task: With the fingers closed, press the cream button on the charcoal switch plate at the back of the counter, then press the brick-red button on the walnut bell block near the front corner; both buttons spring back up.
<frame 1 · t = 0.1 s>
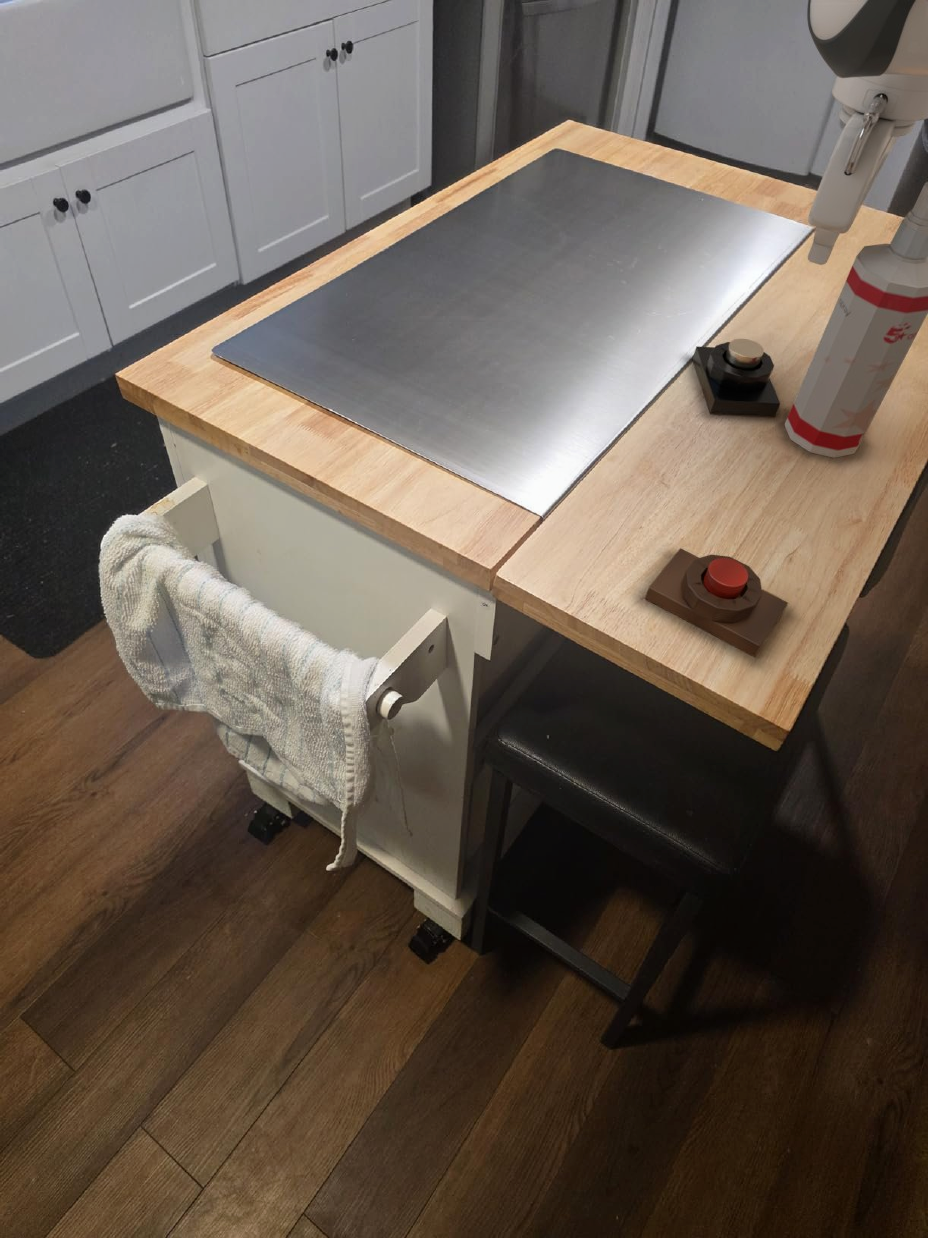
hand: (828, 240, 84), 16 cm above the kitchen island, tool pointing down, fingers open, 8 cm apart
switch button: (743, 355, 91), point 4 cm above the kitchen island, slide at 0.1 cm
bell block: (713, 605, 73), on the kitchen island
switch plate: (732, 387, 94), on the kitchen island
bell button: (725, 578, 71), point 3 cm above the kitchen island, slide at 0.1 cm
spray bottle: (821, 434, 90), on the kitchen island
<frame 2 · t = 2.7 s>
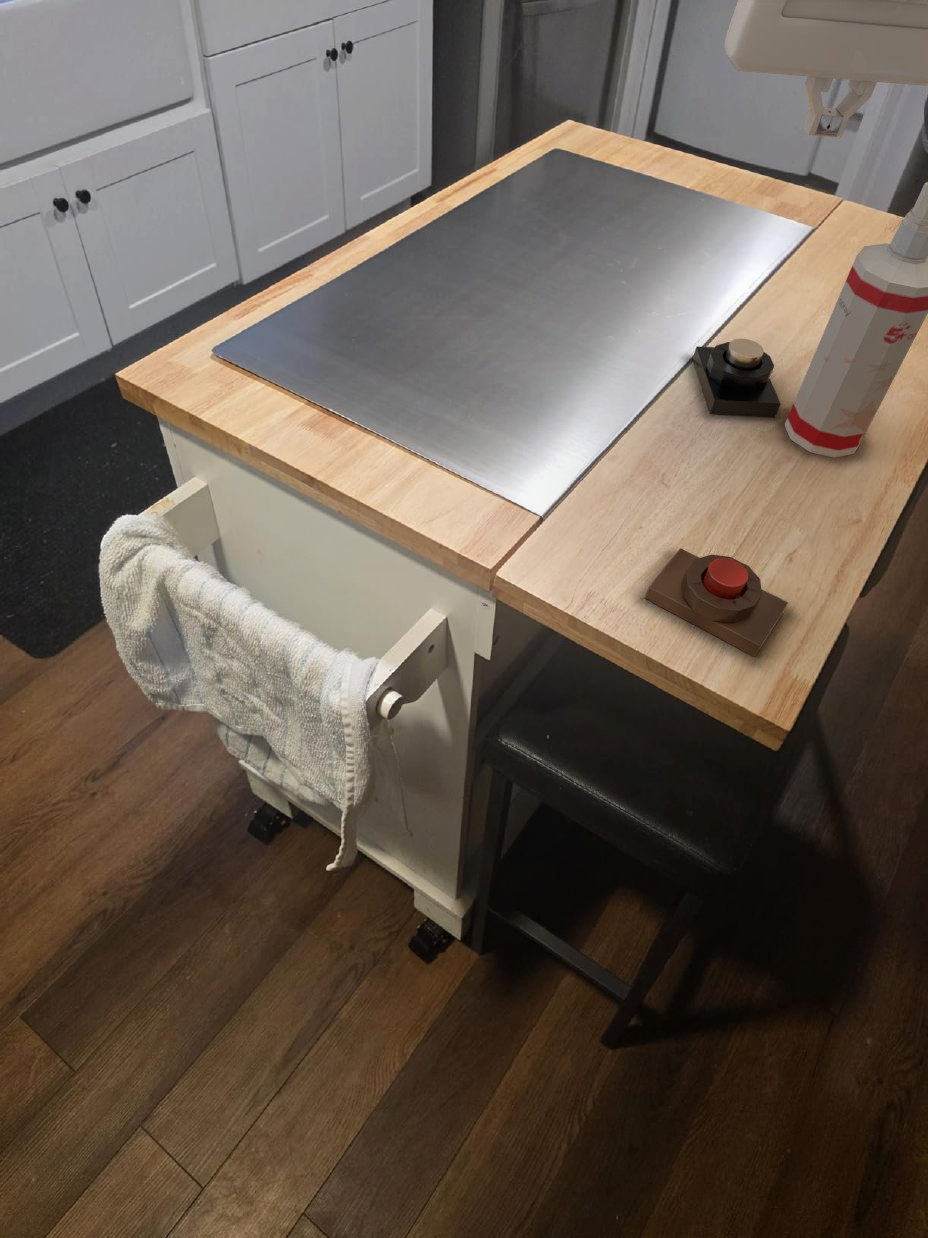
hand: (821, 134, 75), 26 cm above the kitchen island, tool pointing down, fingers closed
nothing on the kitchen island moved.
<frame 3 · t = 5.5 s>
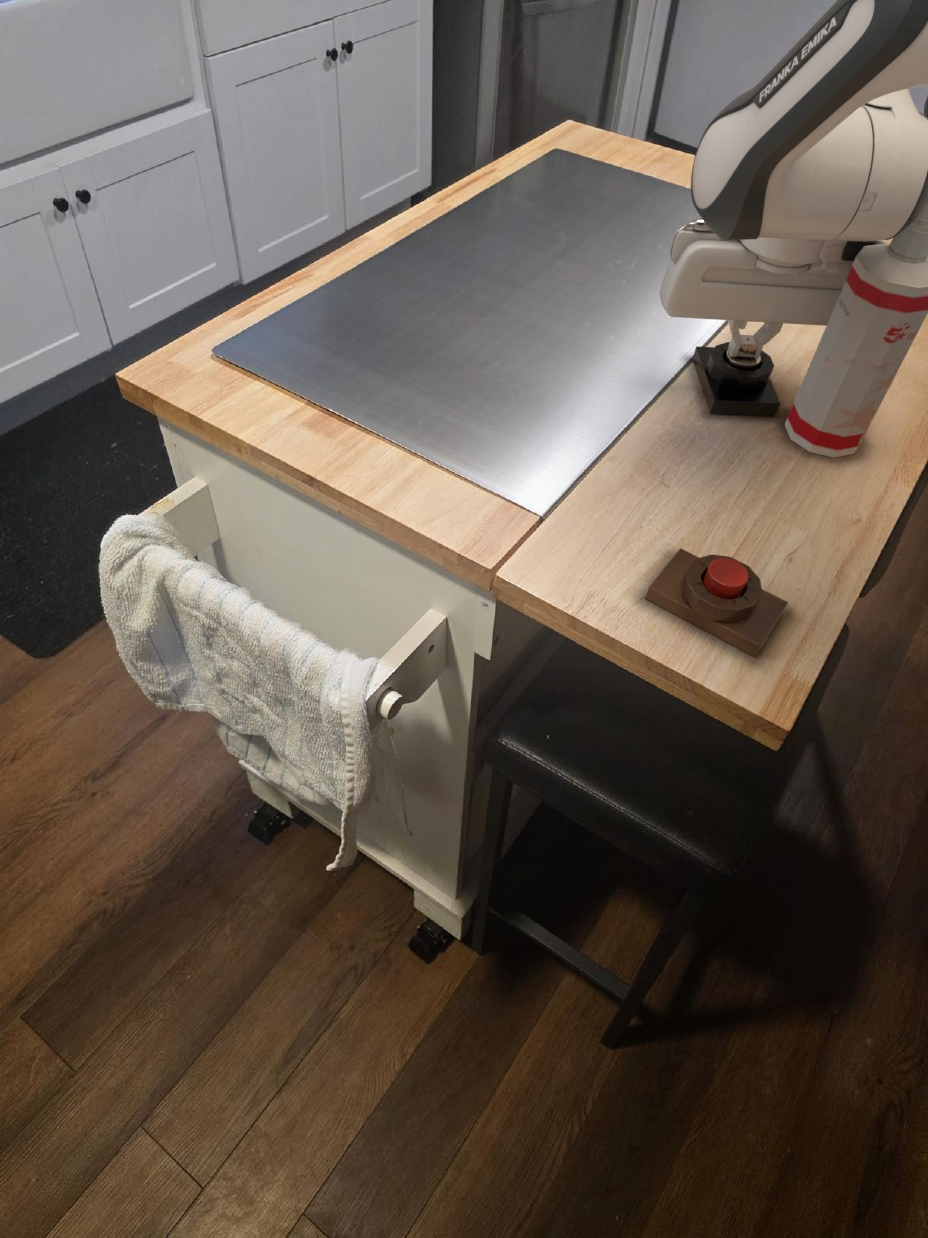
hand: (742, 354, 91), 4 cm above the kitchen island, tool pointing down, fingers closed, pressing on switch button
switch button: (741, 362, 92), point 3 cm above the kitchen island, slide at -0.8 cm, touching gripper
everything else where it was.
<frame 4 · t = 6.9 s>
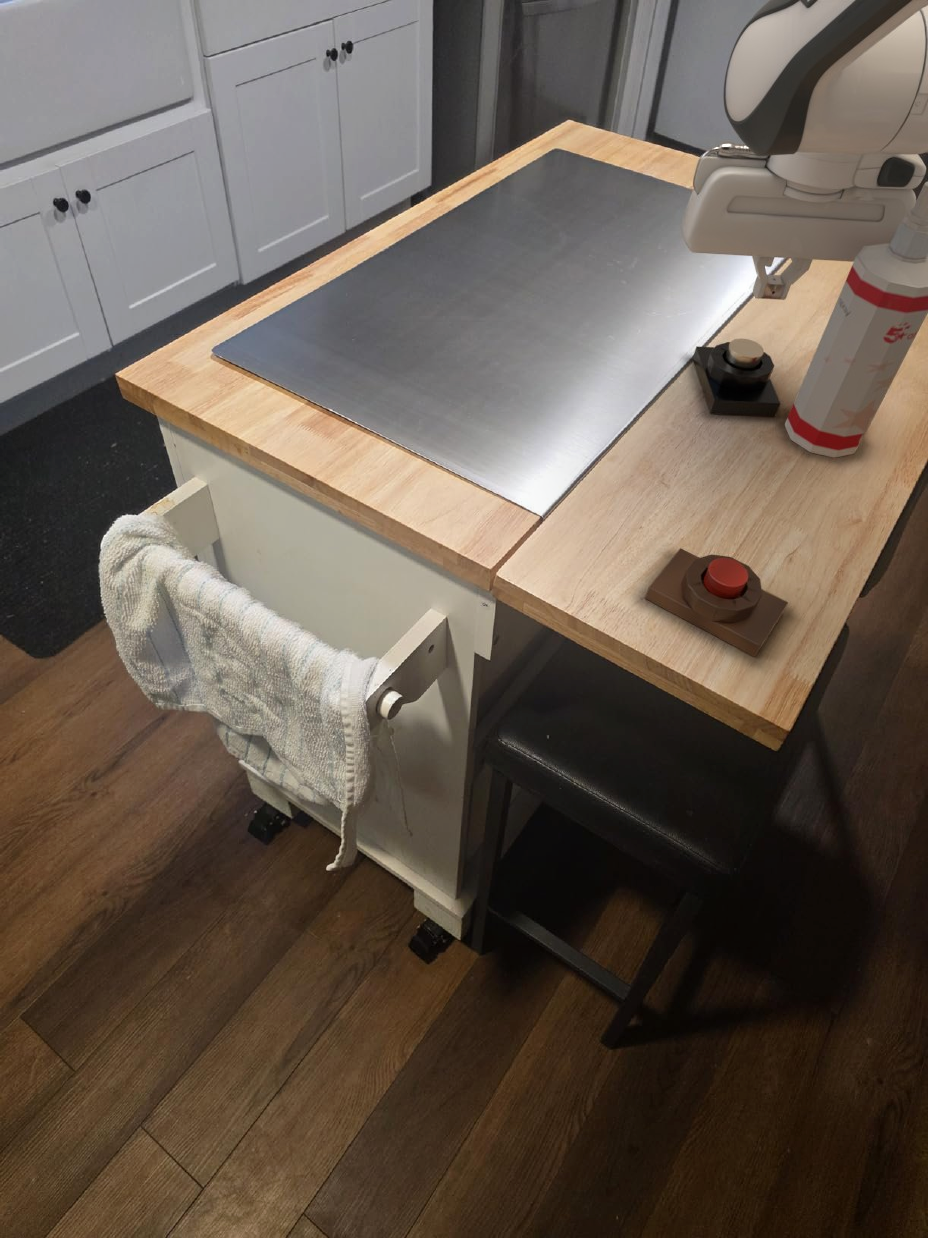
hand: (768, 296, 86), 11 cm above the kitchen island, tool pointing down, fingers closed
switch button: (743, 355, 91), point 4 cm above the kitchen island, slide at 0.1 cm
everything else where it was.
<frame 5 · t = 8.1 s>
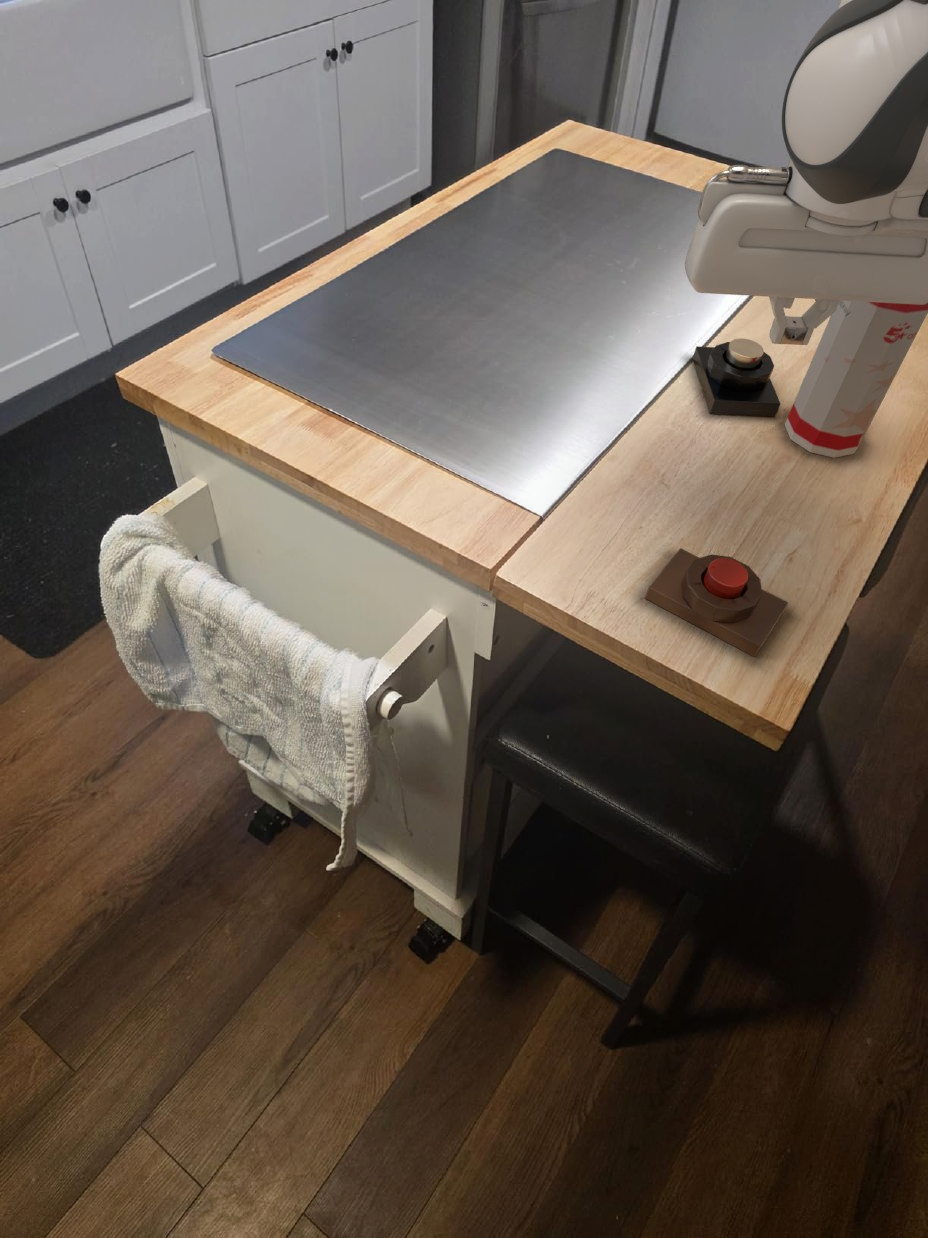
hand: (787, 340, 74), 14 cm above the kitchen island, tool pointing down, fingers closed
nothing on the kitchen island moved.
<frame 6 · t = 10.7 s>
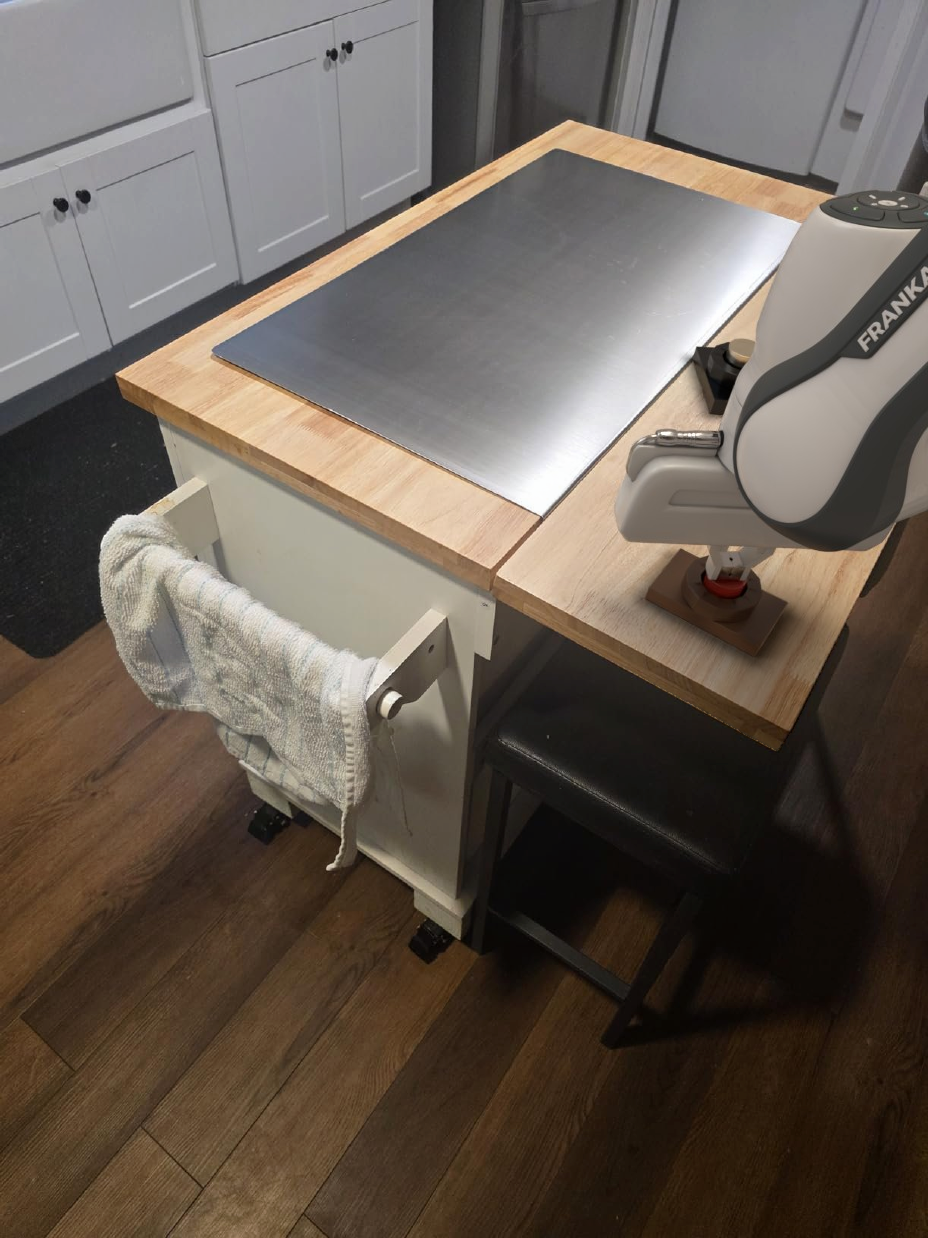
hand: (724, 574, 70), 4 cm above the kitchen island, tool pointing down, fingers closed, pressing on bell button
bell button: (724, 580, 71), point 3 cm above the kitchen island, slide at -0.2 cm, touching gripper
everything else where it was.
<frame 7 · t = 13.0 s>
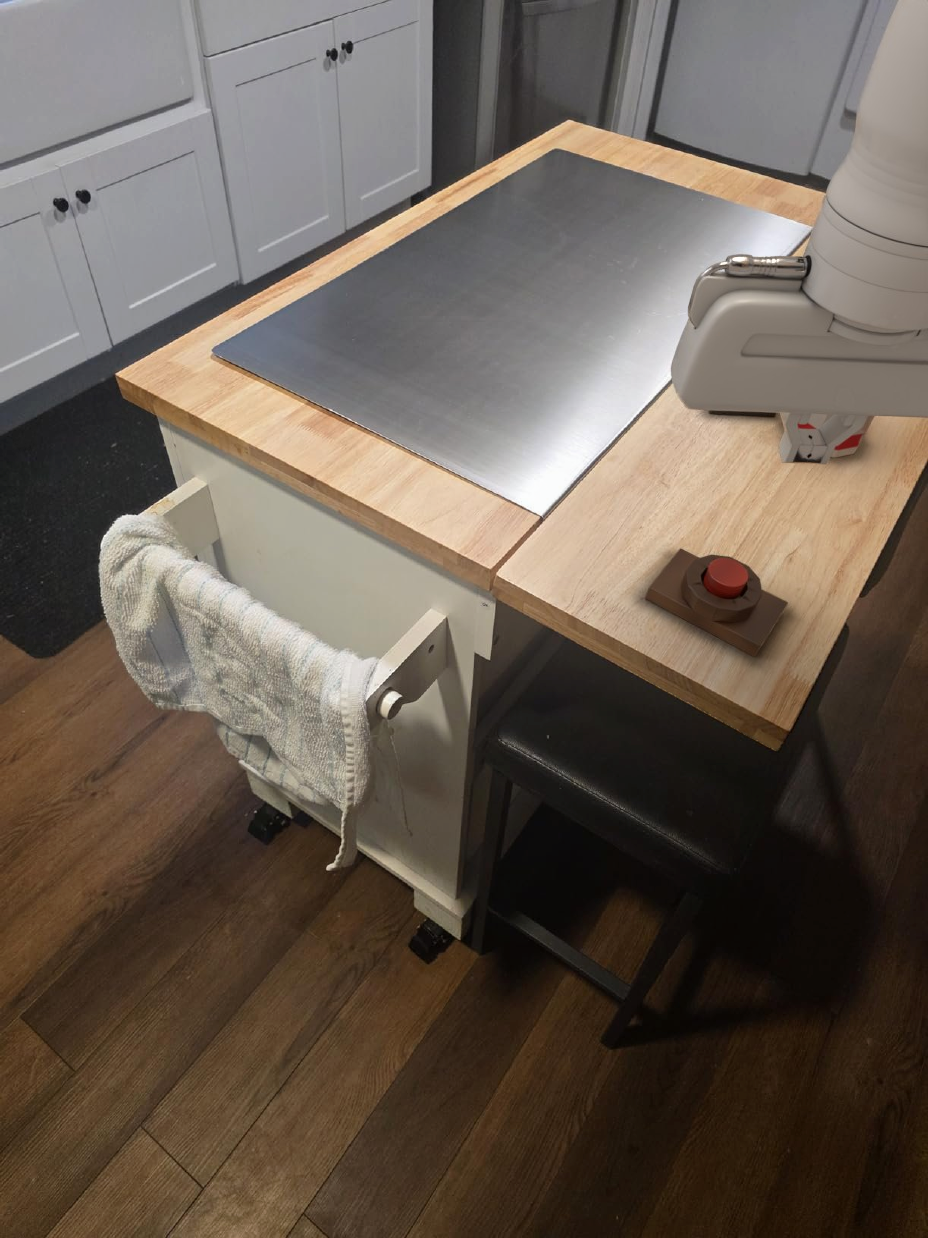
hand: (801, 458, 59), 17 cm above the kitchen island, tool pointing down, fingers closed
bell button: (725, 578, 71), point 3 cm above the kitchen island, slide at 0.1 cm
everything else where it was.
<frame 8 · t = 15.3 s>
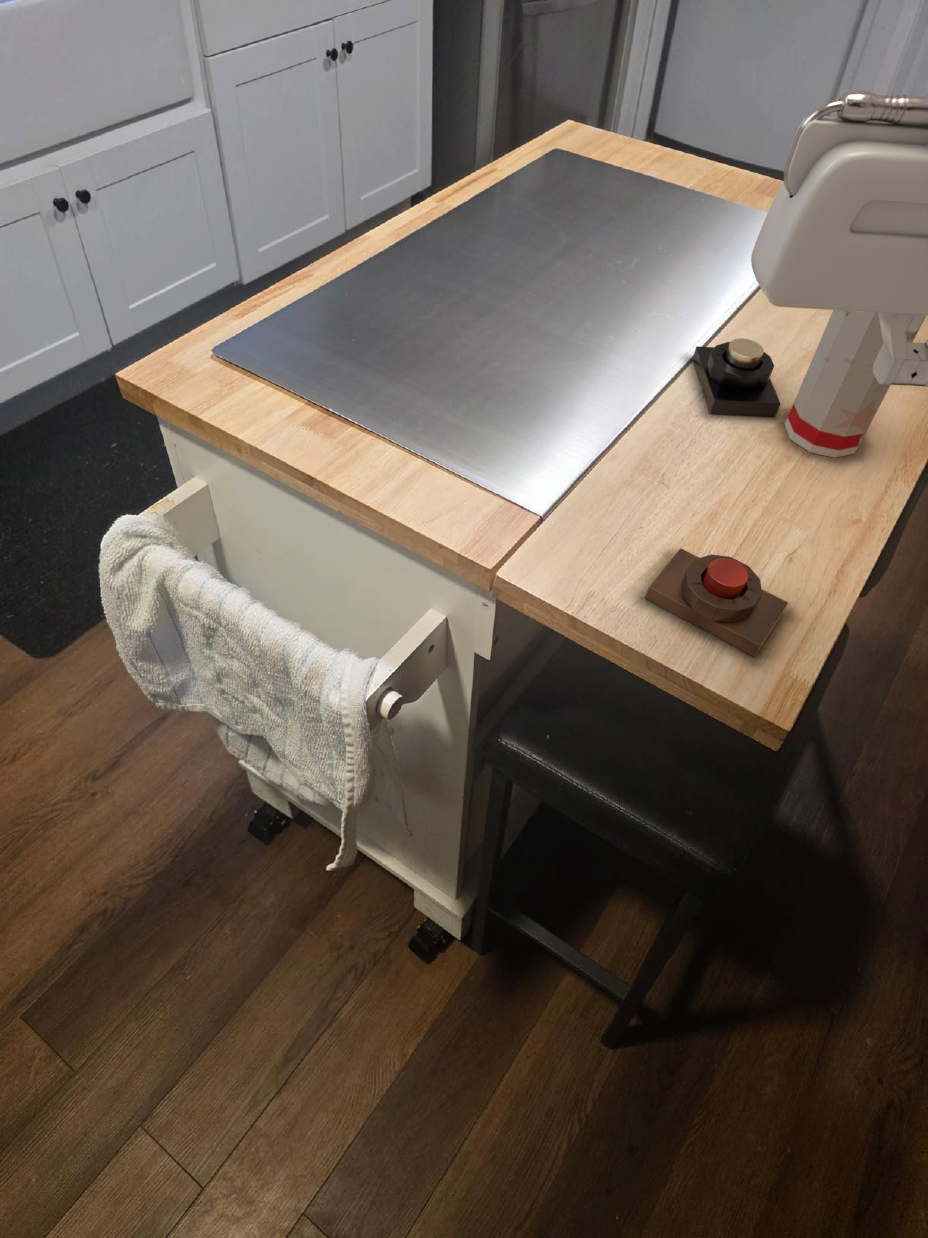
hand: (900, 379, 48), 27 cm above the kitchen island, tool pointing down, fingers closed
nothing on the kitchen island moved.
at the end: switch button pushed in 1.0 cm at the most during the clip, back to where it started at the end; bell button pushed in 0.9 cm at the most during the clip, back to where it started at the end; bell button slide at 0.1 cm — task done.
